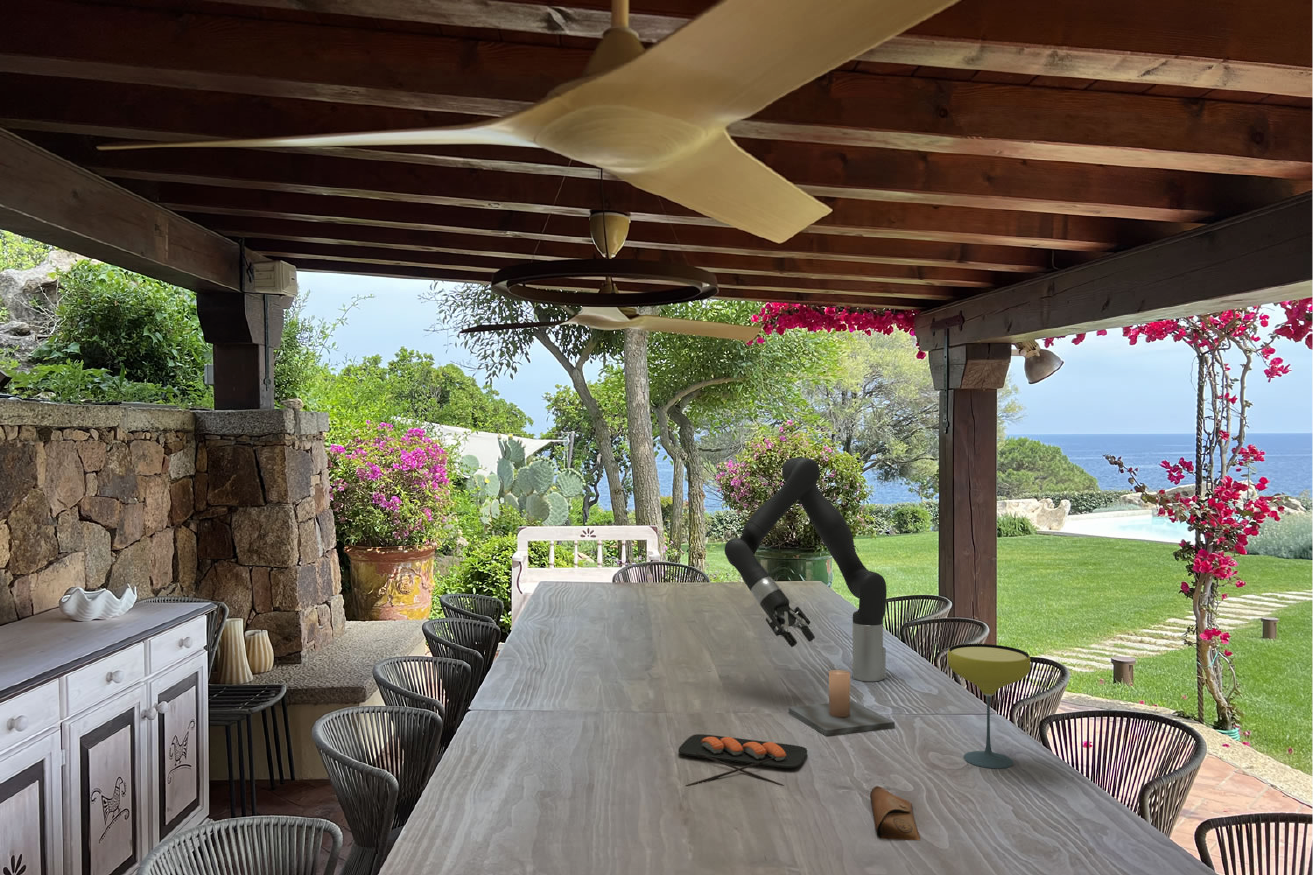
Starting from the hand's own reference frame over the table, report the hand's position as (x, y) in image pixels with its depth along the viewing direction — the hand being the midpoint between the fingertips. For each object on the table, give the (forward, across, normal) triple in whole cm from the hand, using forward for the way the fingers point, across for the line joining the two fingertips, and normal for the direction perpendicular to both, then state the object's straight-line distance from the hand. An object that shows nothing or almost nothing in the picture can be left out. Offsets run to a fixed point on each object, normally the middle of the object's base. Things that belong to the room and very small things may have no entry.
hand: (803, 642), depth 249 cm
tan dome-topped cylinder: (+21, -4, +2) cm, 22 cm away
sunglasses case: (+52, -50, -26) cm, 77 cm away
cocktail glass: (+52, -6, -26) cm, 58 cm away
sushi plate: (+23, -50, +2) cm, 55 cm away
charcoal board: (+22, -4, +2) cm, 23 cm away
